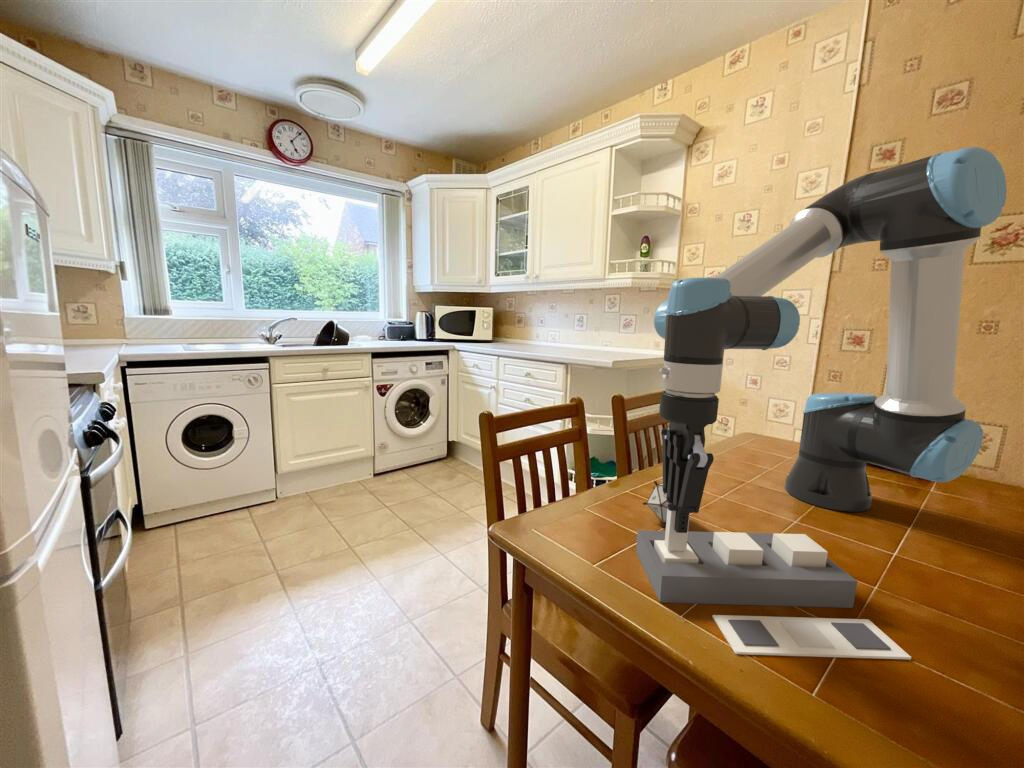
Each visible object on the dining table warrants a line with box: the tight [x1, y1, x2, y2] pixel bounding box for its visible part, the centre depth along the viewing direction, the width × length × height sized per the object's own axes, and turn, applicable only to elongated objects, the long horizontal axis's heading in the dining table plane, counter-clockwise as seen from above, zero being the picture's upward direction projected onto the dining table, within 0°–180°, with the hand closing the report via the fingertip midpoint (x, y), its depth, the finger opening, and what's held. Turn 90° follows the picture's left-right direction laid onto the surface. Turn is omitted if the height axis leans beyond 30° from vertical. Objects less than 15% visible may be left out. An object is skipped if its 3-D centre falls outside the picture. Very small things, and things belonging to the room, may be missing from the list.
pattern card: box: [711, 614, 912, 660], centre depth 51 cm, size 20×6×1 cm, turn 89°
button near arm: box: [771, 532, 829, 567], centre depth 61 cm, size 5×5×3 cm
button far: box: [654, 540, 699, 564], centre depth 62 cm, size 5×5×3 cm
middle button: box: [712, 531, 764, 566], centre depth 62 cm, size 5×5×3 cm
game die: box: [642, 480, 669, 528], centre depth 78 cm, size 9×8×10 cm
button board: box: [635, 529, 858, 609], centre depth 62 cm, size 26×12×4 cm, turn 89°
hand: (675, 547), depth 62 cm, fingers closed
